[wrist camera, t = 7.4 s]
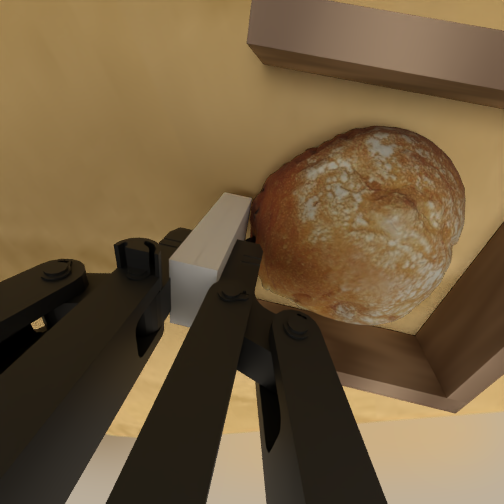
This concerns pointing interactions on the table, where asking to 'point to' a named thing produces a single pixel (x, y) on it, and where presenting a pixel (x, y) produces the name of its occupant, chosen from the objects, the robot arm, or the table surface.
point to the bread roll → (360, 225)
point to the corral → (425, 82)
